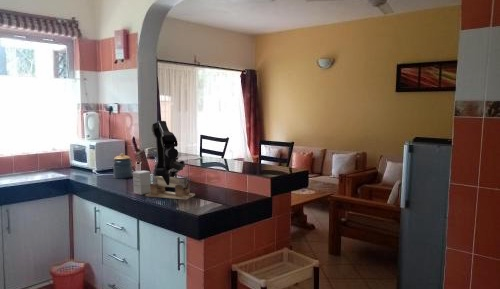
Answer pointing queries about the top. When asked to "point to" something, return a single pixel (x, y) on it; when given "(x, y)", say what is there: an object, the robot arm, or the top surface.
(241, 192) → the top surface
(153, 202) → the top surface
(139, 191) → the supplement box
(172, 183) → the rail
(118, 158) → the canister
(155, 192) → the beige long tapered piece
